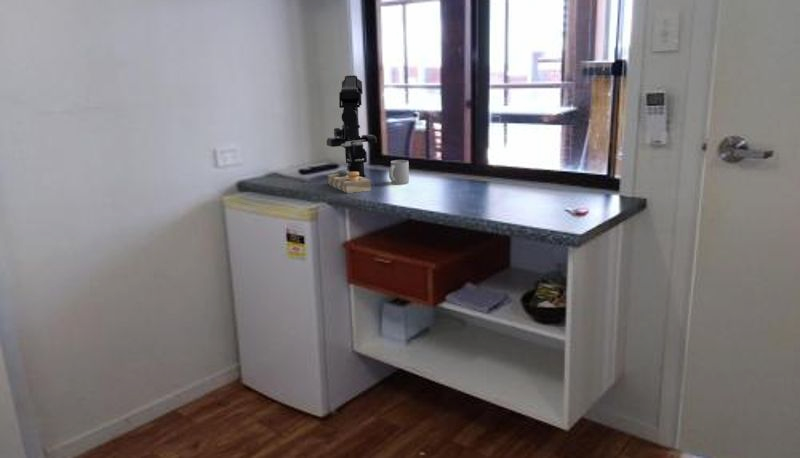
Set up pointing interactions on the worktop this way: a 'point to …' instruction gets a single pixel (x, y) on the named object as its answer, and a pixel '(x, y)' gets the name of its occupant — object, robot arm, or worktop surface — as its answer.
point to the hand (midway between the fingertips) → (352, 162)
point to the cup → (399, 172)
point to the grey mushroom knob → (343, 173)
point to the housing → (349, 183)
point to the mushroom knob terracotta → (353, 176)
